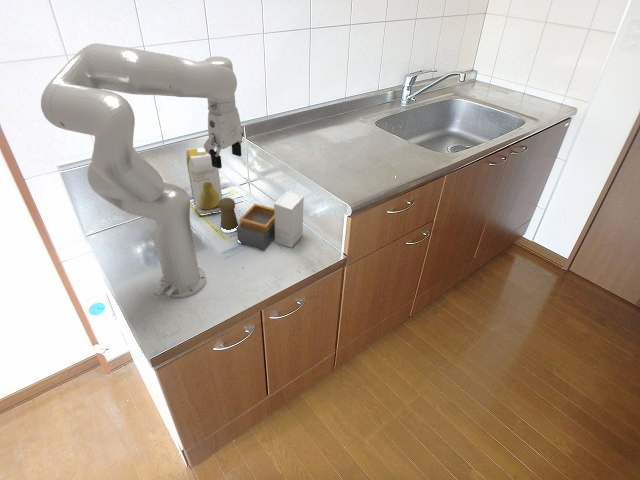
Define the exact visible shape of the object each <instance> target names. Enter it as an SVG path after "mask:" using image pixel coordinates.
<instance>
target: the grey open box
mask: <svg viewBox="0 0 640 480" xmlns="http://www.w3.org/2000/svg"><path fill="white" fill-rule="evenodd" d="M238 221H239V224H238V227H237V228H236V229H237V231H236V237H237V241H238V240H239V241H240V242H241V244H240V245H243V246H244V245H245V246H247V247H250V248H254V249H257V250H260V251H263V252H264V251H266V249H267V248H268V247H269V246H270V245H271V243H272V242H274V241H275V215H274V207H268V206H265V205H262V204H259V203H258V204H257V203H254V204H253V205H252V206H250V208H249V209H248V210H247V211H246V212H245V213H244V214H243V215H242V216H241V217H240V218H239V220H238Z"/></svg>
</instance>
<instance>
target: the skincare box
mask: <svg viewBox="0 0 640 480" xmlns="http://www.w3.org/2000/svg"><path fill="white" fill-rule="evenodd" d="M304 199H305V197H304V195H301V194H297V193H294V192H292V191H285V192H284V193H283V194H282V195H281V196H280V197H279V198H278V199H276V201H275V202H274V203H273V205H274V207H273V209H274V215H275V238H274V242H275V243H276V244H279V245H282V246H284V247H287V248H289V249H292V248H293V247H294V246H295V245H296V243H297V242H298V241H299V240H300V239H301V238H302V237H303V234H304V233H303V230H304Z"/></svg>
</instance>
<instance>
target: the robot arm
mask: <svg viewBox="0 0 640 480" xmlns="http://www.w3.org/2000/svg"><path fill="white" fill-rule="evenodd" d="M237 86H238V80H237V75H236V73H234V67H233V62H232V61H231V59H230V58H228V57H224V56H210V57H206V59H204V60H202V61H201V60H199V61H196V60H191V59H188V58H183V57H180V56H177V55H176V56H175V55H170V54H165V53H161V52H155V51H154V52H153V51H148V50H145V49H139V48H132V47H124V46H119V45H118V46H117V45H113V44H111V45H110V44H106V43H98V42H97V43H96V42H95V43H92V44H89V45H86V46H85V47H83V48H81V50H79V51H77V53H76V54H75V55H74V56H73V57H72V58H71V59H70V60H68V62H67V63H66V64H65V65H64V66H63V68H61V70H59V72H58V73H56V75H55V76H54V77H53V78H52V79H51V80H50V82H49V83H48V84H47V85H46V87H45V88H44V90H43V91H42V92H43V93H42V94H41V98H40V109H41V112H42V113H43V116H44V118H45V119H46V120H47V121H48V122H49V123H50V124H51V125H53V126H54V127H56V128H59V129H61V130H64V131H65V130H66V131H68V132H69V131H70V132H74V133H80V134H84V135H89V136H94V144H93V151H92V154H91V159H90V160H91V162H90V163H89V165H88V168H87V174H86V175H87V181H88V184H89V186H90V188H91V189H92V191H93V192H94V193H95V194H96V195H98V196H99V197H100V198H102V199H103V200H105V201H107V202H108V203H110V204H111V205H113V206H114V207H116V208H117V209H118V210H120V211H123V212H124V213H127V214H130V215H133V216H137V217H141V218H145V219H147V220H151V221H153V222H155V223H156V224H157V225H156V226H155V228H154V230H153V233H152V238H153V242H154V247H155V249H156V254H157V258H158V262H159V264H160V269H161V272H162V275H161V277H160V279H159V284H158V285H159V287H158V288H157V289H156V290H155V291H154V292H153V293H152V294H153V297H155V298H157V299H158V298H159V299H160V297H161V296H162V295H163V294H164V296H165V297H166V298H167V297H168V298H169V297H171V298H175V299H176V298H179V299H180V298H187V297H190V296H193V295H194V294H196V293H198V292H199V291H200V290H202V289H203V288H204V286H205V284H206V281H207V277H206V273H205V271H204V269H202V268H201V267H200V266H199V265H198V264H199V263H198V260H197V254H196V248H195V242H194V238H193V233H192V227H191V213H190V212H191V199H190V195H189V193H188V192H187V191H186V190H185V189H184V188H183V187H180V186H178V185H177V184H172V183H169V182H165V181H164V180H163V177H162V175H161V173H159V171H158V170H157V169H156V168H155V167H154V166H152V165H151V164H150V163H149V162H148V161H147V160H146V159H145V158H144V157H143V156H142V155H141V154H139V153H138V150H136V149H135V148H134V136H135V135H134V132H135V125H136V122H135V120H136V119H135V114H134V113H135V112H134V109H133V107H132V106H131V105H130V102H129V101H128V100H126V98H125V97H123V96H122V95H120V94H119V93H124V94H130V95H136V96H137V95H138V96H139V95H140V96H141V95H142V96H162V97H163V96H164V97H177V98H198V99H199V98H201V99H207V110H208V112H207V134H208V138H207V139H206V141H204V143H203V147H204V148H205V149H206V152H208V153H209V155H211V161H212V166H213V167H216V168H218V169H222V168H223V166H222V164H223V163H222V157H221V155H220V154H221V150H225V149H227V148H229V147H231V153H232V155H234V156H237V157H242V155H243V154H242V145H241V144H242V143H243V140H242V138H243V137H244V134H243V133H244V130H245V127H244V126H243V125H242V124H241V123H242V122H241V119H240V114H239V110H238V107H237V104H236V95H235V93H236V91H237V88H238V87H237ZM115 92H117V93H115ZM215 149H216V151H215Z"/></svg>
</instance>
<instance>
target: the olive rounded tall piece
mask: <svg viewBox="0 0 640 480" xmlns="http://www.w3.org/2000/svg"><path fill="white" fill-rule="evenodd" d="M219 208H220V209H221V212H220V228H221V227H222V228H223V229H226V230H231V229H234V228H236V227H237V226H239V223H238V219H237V216H236V211H235V208H236V202H235V200H234V199H233V198H231V197H224V198H223V197H222V199H221V200H220V201H219Z"/></svg>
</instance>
